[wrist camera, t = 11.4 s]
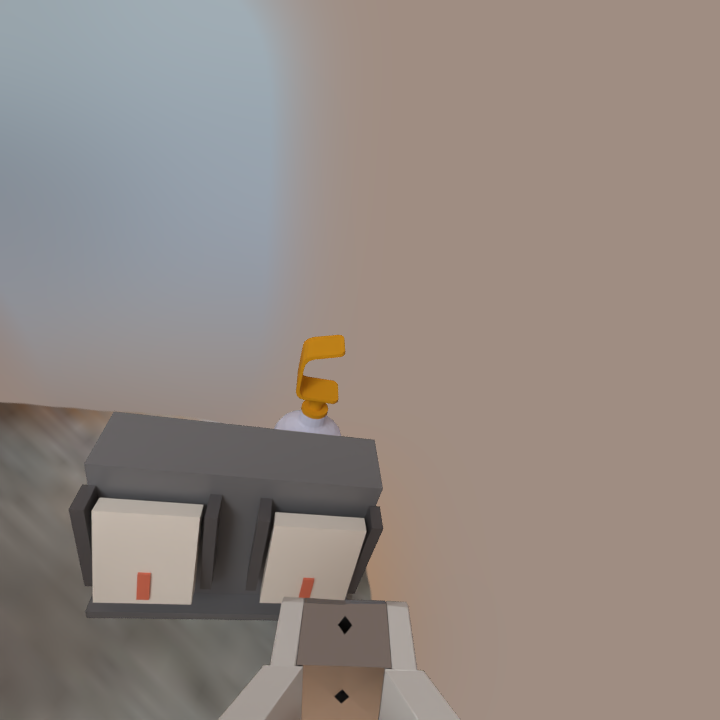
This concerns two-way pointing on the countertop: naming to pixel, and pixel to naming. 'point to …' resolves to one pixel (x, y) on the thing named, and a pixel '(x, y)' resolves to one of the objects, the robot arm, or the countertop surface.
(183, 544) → the block
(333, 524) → the block
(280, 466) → the power panel
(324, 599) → the robot arm
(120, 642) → the countertop surface
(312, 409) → the soap bottle
